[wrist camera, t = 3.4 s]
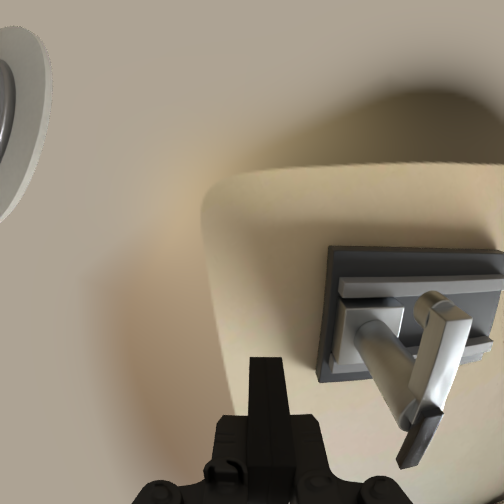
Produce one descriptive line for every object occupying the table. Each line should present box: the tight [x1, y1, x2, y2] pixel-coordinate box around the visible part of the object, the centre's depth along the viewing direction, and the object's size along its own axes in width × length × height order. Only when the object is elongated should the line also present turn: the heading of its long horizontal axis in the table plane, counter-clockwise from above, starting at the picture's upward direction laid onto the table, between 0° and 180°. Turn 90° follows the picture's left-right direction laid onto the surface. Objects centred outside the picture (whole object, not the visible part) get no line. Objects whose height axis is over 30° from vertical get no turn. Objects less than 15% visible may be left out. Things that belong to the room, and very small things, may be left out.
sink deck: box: [316, 246, 504, 383], centre depth 20 cm, size 10×16×3 cm, turn 89°
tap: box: [331, 291, 473, 470], centre depth 15 cm, size 8×4×10 cm, turn 179°
